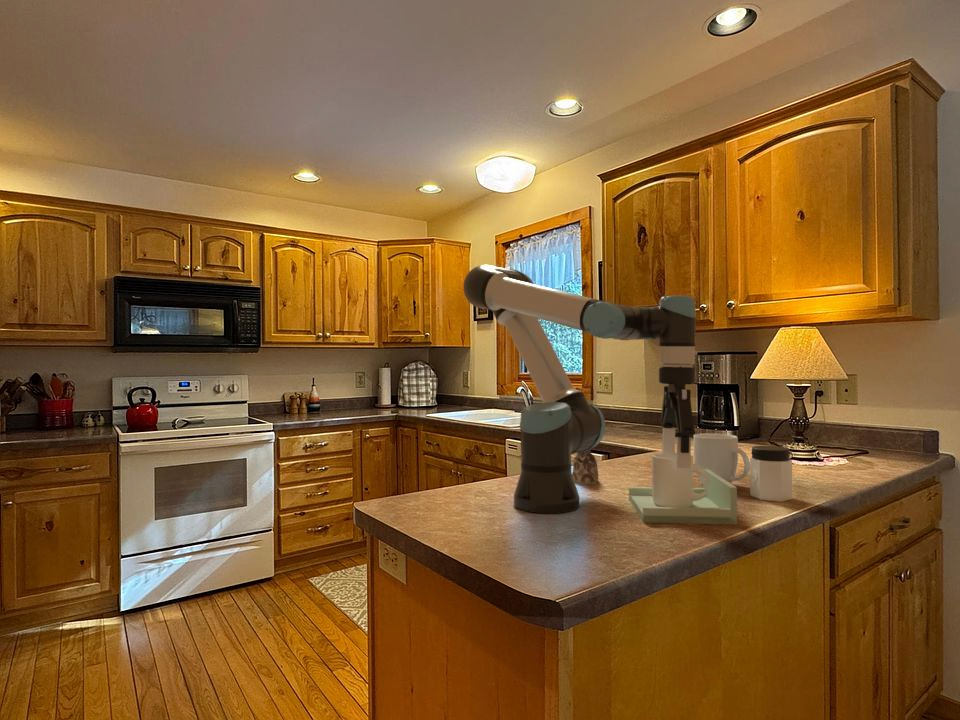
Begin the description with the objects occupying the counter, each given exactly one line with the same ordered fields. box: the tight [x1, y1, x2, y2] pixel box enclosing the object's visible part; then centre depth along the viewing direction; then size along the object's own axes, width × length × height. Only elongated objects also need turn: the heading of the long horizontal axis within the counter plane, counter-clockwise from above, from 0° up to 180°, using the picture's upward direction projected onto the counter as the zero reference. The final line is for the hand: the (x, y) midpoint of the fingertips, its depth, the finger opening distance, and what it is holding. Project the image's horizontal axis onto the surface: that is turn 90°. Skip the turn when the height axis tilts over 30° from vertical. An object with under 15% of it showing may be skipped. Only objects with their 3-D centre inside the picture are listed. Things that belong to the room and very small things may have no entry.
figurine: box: [572, 448, 599, 485], centre depth 156 cm, size 7×7×12 cm
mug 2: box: [692, 432, 750, 484], centre depth 148 cm, size 15×11×13 cm
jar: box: [749, 445, 793, 503], centre depth 135 cm, size 9×8×12 cm
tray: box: [628, 469, 738, 525], centre depth 124 cm, size 18×19×8 cm
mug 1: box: [651, 452, 708, 507], centre depth 123 cm, size 9×12×11 cm
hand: (675, 461), depth 124 cm, fingers open, 13 cm apart
